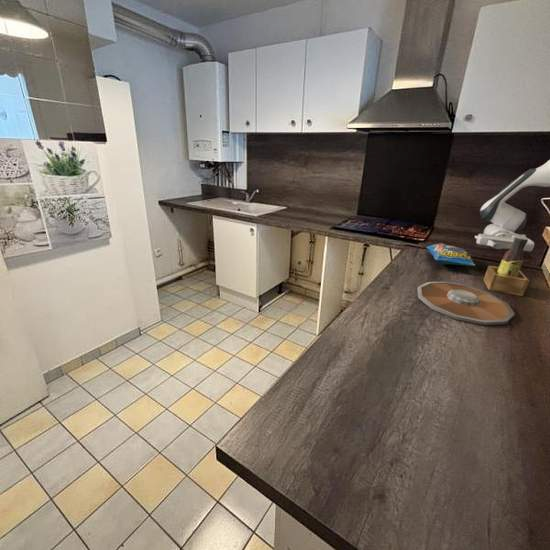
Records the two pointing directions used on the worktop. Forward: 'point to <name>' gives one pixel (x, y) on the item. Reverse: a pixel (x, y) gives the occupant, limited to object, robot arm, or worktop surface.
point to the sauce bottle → (513, 258)
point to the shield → (465, 303)
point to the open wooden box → (505, 282)
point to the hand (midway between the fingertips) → (508, 247)
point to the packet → (450, 255)
